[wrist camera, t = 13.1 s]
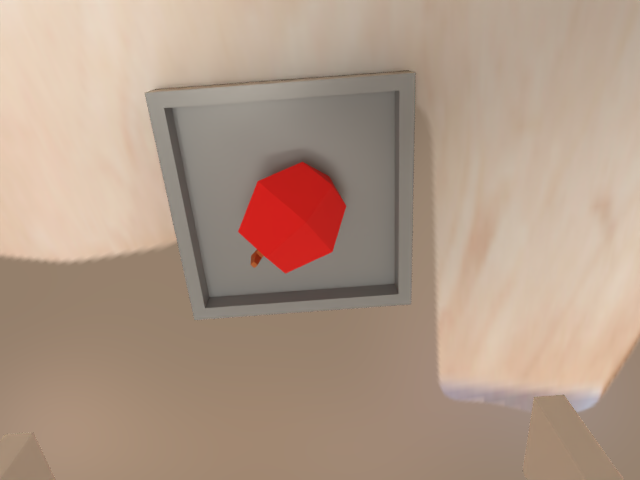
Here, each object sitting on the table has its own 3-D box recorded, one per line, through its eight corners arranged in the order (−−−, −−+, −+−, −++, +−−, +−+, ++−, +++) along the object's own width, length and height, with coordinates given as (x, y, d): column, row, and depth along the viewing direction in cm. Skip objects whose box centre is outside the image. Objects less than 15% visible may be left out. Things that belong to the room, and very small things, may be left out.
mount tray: (408, 70, 30) (415, 72, 28) (405, 289, 37) (411, 304, 35) (155, 89, 30) (144, 92, 28) (200, 304, 37) (194, 319, 35)
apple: (318, 143, 26) (222, 245, 25) (382, 218, 29) (299, 310, 28) (278, 134, 32) (200, 216, 31) (334, 197, 35) (265, 272, 34)
